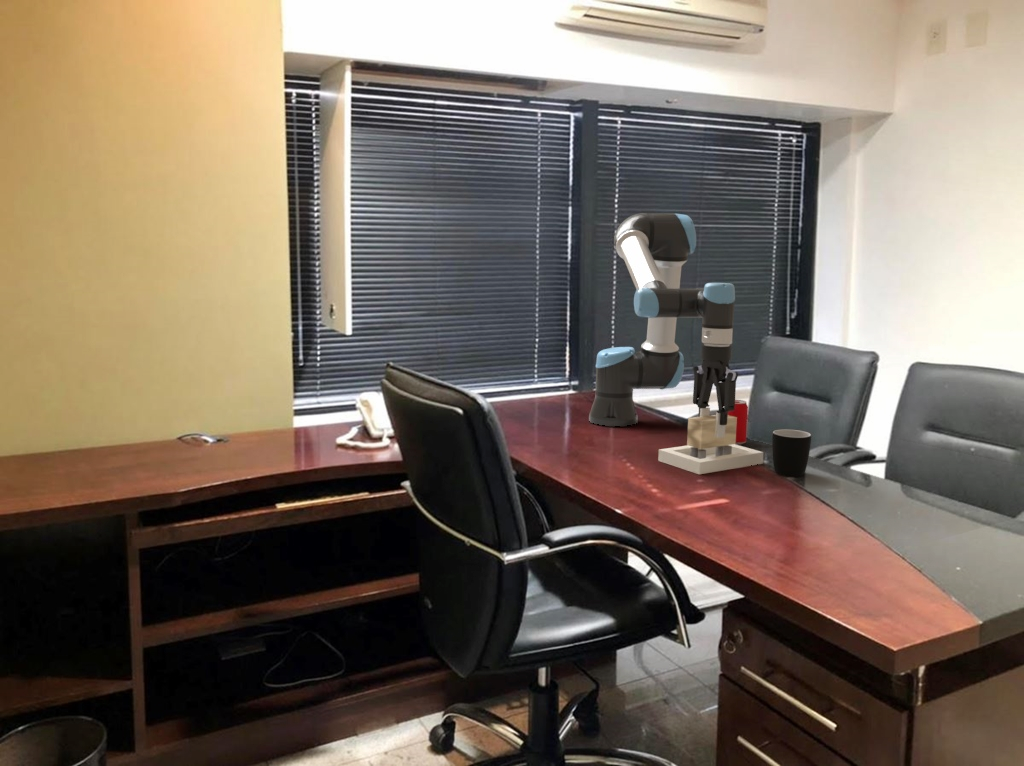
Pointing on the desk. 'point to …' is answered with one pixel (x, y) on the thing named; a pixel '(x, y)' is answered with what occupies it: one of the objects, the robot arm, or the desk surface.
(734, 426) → the wooden block
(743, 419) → the beverage can
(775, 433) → the mug
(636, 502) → the desk surface
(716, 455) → the peg frame
